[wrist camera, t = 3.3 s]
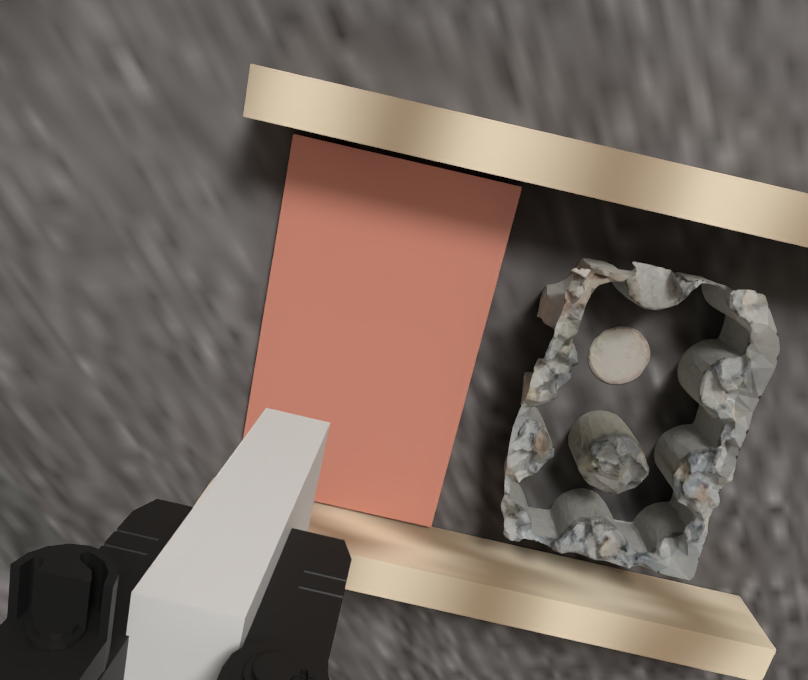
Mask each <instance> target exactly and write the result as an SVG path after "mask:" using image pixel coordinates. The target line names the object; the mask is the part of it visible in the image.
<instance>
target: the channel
mask: <svg viewBox="0 0 808 680" xmlns="http://www.w3.org/2000/svg"><path fill="white" fill-rule="evenodd" d="M243 117H248V118H252V119H256V120H261V121H265V122H269V123H274V124H278V125H282V126H286V127H291V128H295V129H299V130H304V131H308V132H312V133H317V134H321V135H325V136H329V137H334V138H338V139H342V140H347V141H351V142H355V143H360V144H364V145H368V146H373V147H377V148H381V149H385V150H390V151H394V152H398V153H403V154H407V155H411V156H416V157H420V158H424V159H429V160H433V161H437V162H441V163H446V164H450V165H454V166H459V167H463V168H467V169H472V170H476V171H480V172H485V173H489V174H493V175H497V176H502V177H506V178H510V179H515V180H519V181H523V182H528V183H532V184H536V185H541V186H545V187H549V188H553V189H558V190H562V191H566V192H571V193H575V194H579V195H584V196H588V197H592V198H596V199H601V200H605V201H609V202H614V203H618V204H622V205H627V206H631V207H635V208H640V209H644V210H648V211H652V212H657V213H661V214H665V215H670V216H674V217H678V218H683V219H687V220H691V221H696V222H700V223H704V224H708V225H713V226H717V227H721V228H726V229H730V230H734V231H739V232H743V233H747V234H752V235H756V236H760V237H764V238H769V239H773V240H777V241H782V242H786V243H790V244H795V245H799V246H803V247H808V194H807V193H803V192H799V191H795V190H790V189H786V188H782V187H777V186H773V185H769V184H765V183H760V182H756V181H752V180H747V179H743V178H739V177H735V176H730V175H726V174H722V173H717V172H713V171H709V170H705V169H700V168H696V167H692V166H687V165H683V164H679V163H675V162H670V161H666V160H662V159H657V158H653V157H649V156H644V155H640V154H636V153H632V152H627V151H623V150H619V149H614V148H610V147H606V146H602V145H597V144H593V143H589V142H584V141H580V140H576V139H572V138H567V137H563V136H559V135H554V134H550V133H546V132H542V131H537V130H533V129H529V128H524V127H520V126H516V125H512V124H507V123H503V122H499V121H494V120H490V119H486V118H482V117H477V116H473V115H469V114H464V113H460V112H456V111H451V110H447V109H443V108H439V107H434V106H430V105H426V104H421V103H417V102H413V101H409V100H404V99H400V98H396V97H391V96H387V95H383V94H379V93H374V92H370V91H366V90H361V89H357V88H353V87H349V86H344V85H340V84H336V83H331V82H327V81H323V80H319V79H314V78H310V77H306V76H301V75H297V74H293V73H289V72H284V71H280V70H276V69H271V68H267V67H263V66H258V65H254V64H250V71H249V78H248V85H247V92H246V99H245V106H244V113H243ZM214 479H215V477H214V478H213V479H212V481H213V480H214ZM212 481H211V482H210V483H209V485H210V484H211V483H212ZM209 485H208V486H207V488H208V487H209ZM207 488H206V489H207ZM206 489H205V491H206ZM205 491H204V492H205ZM204 492H203V493H202V495H203V494H204ZM202 495H201V496H202ZM201 496H200V498H201ZM200 498H199V499H200ZM199 499H198V500H199ZM197 502H198V501H197ZM197 502H196V503H197ZM196 503H195V505H196ZM195 505H194V506H195ZM194 506H193V507H194ZM307 532H312V533H316V534H321V535H325V536H329V537H334V538H338V539H342V540H345V543H346V545H347V548H348V551H349V553H350V556H351V559H352V560H351V564H350V569H349V573H348V577H347V582H346V586H345V589H347V590H351V591H356V592H360V593H365V594H369V595H373V596H378V597H382V598H387V599H391V600H396V601H400V602H405V603H409V604H414V605H418V606H422V607H427V608H431V609H436V610H440V611H445V612H449V613H454V614H458V615H463V616H467V617H472V618H476V619H480V620H485V621H489V622H494V623H498V624H503V625H507V626H512V627H516V628H521V629H525V630H529V631H534V632H538V633H543V634H547V635H552V636H556V637H561V638H565V639H570V640H574V641H578V642H583V643H587V644H592V645H596V646H601V647H605V648H610V649H614V650H619V651H623V652H627V653H632V654H636V655H641V656H645V657H650V658H654V659H659V660H663V661H668V662H672V663H676V664H681V665H685V666H690V667H694V668H699V669H703V670H708V671H712V672H717V673H721V674H725V675H730V676H734V677H739V678H743V679H748V680H762V679H763V677H764V675H765V673H766V671H767V669H768V667H769V665H770V663H771V660H772V658H773V656H774V654H775V652H776V649H775V647H774V646H773V644H772V643H771V642H770V640H769V639H768V637H767V636H766V634H765V633H764V631H763V630H762V628H761V627H760V625H759V624H758V623H757V621H756V620H755V618H754V617H753V615H752V614H751V612H750V611H749V609H748V608H747V607H746V605H745V604H744V602H743V601H742V599H741V598H740V596H737V595H733V594H728V593H724V592H719V591H715V590H710V589H706V588H702V587H697V586H693V585H688V584H684V583H679V582H675V581H671V580H666V579H662V578H657V577H653V576H648V575H644V574H640V573H635V572H631V571H626V570H622V569H617V568H613V567H609V566H604V565H600V564H595V563H591V562H586V561H582V560H578V559H573V558H569V557H564V556H560V555H555V554H551V553H547V552H542V551H538V550H533V549H529V548H524V547H520V546H516V545H511V544H507V543H502V542H498V541H493V540H489V539H485V538H480V537H476V536H471V535H467V534H462V533H458V532H454V531H449V530H445V529H440V528H436V527H432V526H431V527H427V526H423V525H418V524H414V523H409V522H405V521H400V520H396V519H392V518H387V517H383V516H378V515H374V514H369V513H365V512H361V511H356V510H352V509H347V508H343V507H338V506H334V505H330V504H325V503H321V502H316V501H314V504H313V509H312V514H311V519H310V523H309V527H308V530H307Z"/></svg>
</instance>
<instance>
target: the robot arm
mask: <svg viewBox="0 0 808 680" xmlns="http://www.w3.org/2000/svg"><path fill="white" fill-rule="evenodd" d="M329 427H330V422H326V421H321V420H317V419H313V418H308V417H304V416H300V415H295V414H291V413H287V412H282V411H278V410H274V409H269V408H266V409H265V410H264V411H263V413H262V414H261V416H260V417H259V418H258V420H257V421H256V422H255V424H254V425H253V426H252V428H251V429H250V431H249V432H248V433H247V435H246V436H245V437H244V439H243V440H242V442H241V443H240V444H239V446H238V447H237V448H236V450H235V451H234V452H233V454H232V455H231V457H230V458H229V459H228V461H227V462H226V463H225V465H224V466H223V468H222V469H221V470H220V472H219V473H218V474H217V476H216V477H215V479H214V480H213V481H212V483H211V484H210V485H209V487H208V488H207V489H206V491H205V492H204V494H203V495H202V496H201V498H200V499H199V500H198V502H197V503H196V505H195V506H194V507H190V506H186V505H181V504H177V503H173V502H168V501H164V500H160V499H156V500H154V501H152V502H150V503H148V504H146V505H144V506H142V507H140V508H138V509H136V510H134V511H133V512H132V513H131V514H130V515H129V516H128V517H127V518H126V519H125V520H124V522H123V523H122V524H121V525H120V526H119V527H118V529H117V531H116V532H114V533H113V534H112V535H111V536H110V537H109V538H108V539H107V540H106V542H105V544H104V546H101V547H100V548H99V549H96V548H94V547H91V546H86V545H76V544H63V545H55V546H47V547H44V548H41V549H38V550H35V551H32V552H29V553H27V554H25V555H24V556H22V557H21V558H19V559H18V560H16V561H15V562H13V563H12V564H11V569H10V585H9V600H8V615H7V619H6V620H5V621H4V622H3V623H2V624H1V625H0V680H329V676H328V660H329V656H330V651H331V647H332V643H333V638H334V634H335V629H336V625H337V621H338V616H339V612H340V608H341V603H342V599H343V595H344V590H345V586H346V582H347V577H348V573H349V569H350V564H351V560H352V559H351V556H350V553H349V551H348V548H347V545H346V543H345V540H342V539H338V538H334V537H329V536H325V535H321V534H316V533H312V532H307V530H308V527H309V523H310V519H311V514H312V509H313V504H314V499H315V494H316V490H317V485H318V480H319V475H320V470H321V465H322V461H323V456H324V451H325V446H326V441H327V436H328V432H329Z"/></svg>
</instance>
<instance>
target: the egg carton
mask: <svg viewBox="0 0 808 680" xmlns="http://www.w3.org/2000/svg"><path fill="white" fill-rule="evenodd" d="M632 264H633V267H634V269H633V270H632V271H628V270H620V269H617V268H616V267H615V266H613V265H612V264H609V263H607V262H604V261H600V260H594V259H590V258H582V259H581V260H580V262H579V264H578V265H577V267H576V268H573V269H572V270H571V271H572V274H571V275H570V276H568V277H567V278H566V279H565V280H563V281H561V282H559V283H556V284H550V285H547V286H546V287H545V288H544V290H543V292H542V295H541V298H540V305H539V310H538V314H537V317H540V318H541V319H542V320H543V322H544V323H545V324H547V325H548V326H550V327H552V328H553V329H555V332H554V337H553V338H552V340H551V342H550V344H549V347H548V349H547V351H546V354H545V357H544V358H543V359H539V358H538V360H537V362H536V364H535V366H534V371H531V372H525V373H524V381H523V392H522V400H521V408H520V410H519V413H518V415H517V418H516V420H515V423H514V425H513V428H512V433H511V438H510V444H509V450H508V454H507V457H506V459H505V464H504V476H505V481H504V497H503V499H502V502H501V510H502V513H503V516H504V532H503V533H504V536H505V537H506V538H508V539H509V540H511V541H521V540H522V539H529V540H534V541H538V542H540V543H543V544H545V545H548V546H549V547H550V548H551V549H552V550H554V551H556V552H559V553H561V554H562V553H567V552H574V553H578V554H581V555H584V556H587V557H589V558H591V559H593V560H602V561H607V562H610V563H613V564H617V565H620V566H623V567H625V568H628V569H629V568H630V567H633V566H637V565H639V566H644V567H646V568H648V569H651V570H653V571H655V572H658V573H661V574H664V575H668V576H673V577H677V578H682V579H686V580H691V579H692V578H693V576H694V575H695V571H696V568H697V564H698V561H699V557H700V554H701V551H702V547H703V544H704V541H705V538H706V535H707V533H708V520H709V518H710V515H711V512H712V510H713V508H715V507H717V506H718V505H719V502H720V501H719V491H720V490H721V488H722V487H723V486H724V485H726V484H728V483H730V482H731V481H732V479H733V474H734V470H735V466H736V461H737V457H738V454H739V450H740V448H741V445H742V443H743V441H744V439H745V437H746V435H747V432H748V430H749V426H750V422H751V418H752V414H753V411H754V409H755V407H756V405H757V403H758V401H759V399H760V397H761V395H762V393H763V391H764V389H765V387H766V385H767V383H768V381H769V379H770V378H771V376H772V374H773V372H774V370H775V368H776V364H777V360H778V355H779V351H780V345H779V338H778V333H777V330H776V327H775V324H774V321H773V318H772V315H771V312H770V308H769V305H768V303H767V300H766V297H765V295H763V294H761V293H759V292H757V291H754V290H736V291H734V290H731V289H730V288H729V287H727V286H725V285H722V284H718V283H716V282H713V281H710V280H707V279H705V278H704V277H702V276H696V275H690V274H685V273H682V272H676V273H673V272H672V270H668V269H665V268H662V267H657V266H653V265H649V264H644V263H639V262H632ZM608 282H612V284H613V285H614V287H615V288H616V289H617V290H618V291H619V292H620V293H622V294H623V295H624V296H625V297H627V298H628V299H629V300H631V301H632V302H634V303H636V304H637V305H639V306H641V307H642V308H644V309H650V310H661V309H665V308H669V307H672V306H675V305H677V304H679V303H680V302H681V301H683V300H684V299H685V298H686V297H687V296H688V295H689V294H690V292H691V291H692V290H694V289H696V288H697V287H698V286H699V285H700V284H701V286H702V292H703V295H704V298H705V300H706V301H707V302H708V304H710V305H711V306H712V307H714V308H715V309H717V310H719V311H720V312H722V313H724V314H725V320H724V324H723V327H722V331H721V333H720V335H719V337H718V339H706V340H703V341H700V342H698V343H696V344H694V345H692V346H691V347H690V348H689V349H688V350H687V351H686V352H685V353H684V354H683V356H682V357H681V359H680V361H679V363H678V369H677V372H678V380H679V382H680V384H681V386H682V388H683V389H684V390H685V391H686V392H687V393H688V394H689V395H690V396H691V397H692V398H693V399H694V400H696V401H697V402H698V403H699V408H698V411H697V414H696V418H695V420H694V423H693V424H685V425H679V426H676V427H673V428H671V429H669V430H668V431H666V432H665V433H664V434H663V435H662V436H661V437H660V438H659V440H658V442H657V444H656V446H655V450H654V460H655V463H656V465H657V467H658V469H659V470H660V471H661V473H662V474H663V475H664V477H665V478H666V480H667V481H668V483H669V484H670V485H671V487H672V488H673V495H672V498H671V500H670V501H669V502H659V503H654V504H651V505H649V506H647V507H645V508H644V509H643V510H642V511H640V512H639V514H638V515H637V516H636V517H635V519H634V520H633V521H632V522H625V521H619V520H615V519H613V517H612V514H611V513H610V511H609V509H608V507H607V505H606V503H605V502H604V501H603V499H602V498H601V497H600V496H599V495H598V494H597V493H595V492H594V491H592V490H589V489H585V488H577V489H572V490H569V491H566V492H564V493H563V494H561V495H560V496H559V497H558V498H557V499H556V500H555V501H554V503H553V505H552V507H551V508H550V509H548V510H545V509H540V508H532V507H528V506H527V503H526V499H525V495H524V493H523V491H522V489H521V487H520V485H519V484H518V483H519V482H520V481H521V480H522V479H523V478H525V477H527V476H530V475H533V474H536V473H537V472H538V471H539V470H540V468H541V467H542V466H543V465H544V463H545V462H546V461H547V460H549V459H551V458H553V457H554V448H555V447H554V445H553V444H552V442H551V439H550V436H549V433H548V431H547V428H546V426H545V423H544V421H543V419H542V416H541V415H540V413H539V411H538V409H537V408H536V407H535V406H539V405H542V404H545V403H547V402H550V401H552V400H554V399H555V398H557V390H558V388H559V387H560V386H562V385H564V384H565V383H566V382H567V381H568V380H569V379H570V378H571V370H572V367H573V366H575V365H577V364H579V361H578V356H577V352H576V349H575V346H574V344H573V343H572V341H573V339H574V337H575V336H576V334H577V331H578V329H579V326H580V323H581V320H582V316H583V313H584V310H585V306H586V304H587V302H588V300H589V298H590V296H591V294H592V293H593V291H594V290H595V289H596V288H597V286H599V285H601V284H605V283H608ZM588 359H589V361H588V364H589V366H590V368H591V371H592V372H593V373H594V375H595V376H596V377H597V378H599V379H600V380H601V381H603V382H606V383H609V384H624V383H627V382H630V381H632V380H634V379H635V378H637V377H638V376H640V375H641V373H642V372H643V370H644V368H645V367H646V365H647V364H648V362H649V360H650V349H649V345H648V343H647V341H646V339H645V338H644V337H643V336H642V334H641V333H640V332H639V331H637V330H636V329H634V328H631V327H627V326H616V327H614V328H610V329H607V330H605V331H602V332H601V333H600V334H599V335H598V336H597V337H596V338H595V339H594V340H593V342H592V344H591V346H590V348H589V356H588ZM568 445H569V448H570V450H571V453H572V455H573V457H574V460H575V462H576V465H577V467H578V470H579V471H578V472H580V473H581V475H582V476H583V478H584V480H585V481H586V482H587V483H588V484H589V485H591V486H594V487H596V488H598V489H600V490H602V491H605V492H608V493H611V494H613V495H615V494H618V493H621V492H623V491H626V490H629V489H632V488H635V487H637V486H638V485H639V484H640V483H641V482H642V481H643V480H644V479H645V478H646V477H647V476H648V473H649V467H648V464H647V461H646V458H645V455H644V452H643V449H642V447H641V445H640V444H639V442H638V441H637V439H636V438H635V437H634V435H633V434H632V432H631V431H630V429H629V428H628V427H627V425H626V424H625V423H624V422H623V421H622V419H621V418H620V417H619V416H618V415H615V414H613V413H611V412H608V411H600V410H599V411H592V412H588V413H586V414H584V415H582V416H581V417H580V418H579V419H578V420H576V422H575V423H574V424H573V425H572V427H571V429H570V431H569V435H568ZM516 482H517V483H516Z"/></svg>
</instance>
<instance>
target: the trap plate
mask: <svg viewBox="0 0 808 680" xmlns="http://www.w3.org/2000/svg"><path fill="white" fill-rule="evenodd" d="M521 190H522V187H521V186H516V185H512V184H508V183H503V182H499V181H495V180H491V179H486V178H482V177H478V176H473V175H469V174H465V173H460V172H456V171H452V170H447V169H443V168H439V167H435V166H430V165H426V164H422V163H417V162H413V161H409V160H404V159H400V158H396V157H391V156H387V155H383V154H379V153H374V152H370V151H366V150H361V149H357V148H353V147H348V146H344V145H340V144H335V143H331V142H327V141H323V140H318V139H314V138H310V137H305V136H301V135H297V134H293V139H292V145H291V151H290V157H289V163H288V169H287V175H286V181H285V188H284V194H283V200H282V206H281V212H280V218H279V224H278V230H277V236H276V242H275V248H274V254H273V260H272V266H271V272H270V278H269V284H268V290H267V296H266V303H265V309H264V315H263V321H262V327H261V333H260V339H259V345H258V351H257V357H256V363H255V369H254V375H253V381H252V387H251V393H250V399H249V405H248V411H247V418H246V424H245V430H244V436H243V439H244V437H245V436H246V435H247V433H248V432H249V431H250V429H251V428H252V426H253V425H254V424H255V422H256V421H257V420H258V418H259V417H260V416H261V414H262V413H263V411H264V410H265V409H266V408H269V409H274V410H278V411H282V412H287V413H291V414H295V415H300V416H304V417H308V418H313V419H317V420H321V421H326V422H330V427H329V432H328V436H327V441H326V446H325V451H324V456H323V461H322V465H321V470H320V475H319V480H318V485H317V490H316V494H315V499H314V501H316V502H321V503H325V504H330V505H334V506H338V507H343V508H347V509H352V510H356V511H361V512H365V513H369V514H374V515H378V516H383V517H387V518H392V519H396V520H400V521H405V522H409V523H414V524H418V525H423V526H427V527H431V525H432V522H433V518H434V514H435V510H436V507H437V503H438V499H439V496H440V492H441V488H442V484H443V481H444V477H445V473H446V469H447V466H448V462H449V458H450V455H451V451H452V447H453V443H454V440H455V436H456V432H457V428H458V425H459V421H460V417H461V413H462V410H463V406H464V402H465V399H466V395H467V391H468V387H469V384H470V380H471V376H472V372H473V369H474V365H475V361H476V358H477V354H478V350H479V346H480V343H481V339H482V335H483V331H484V328H485V324H486V320H487V316H488V313H489V309H490V305H491V302H492V298H493V294H494V290H495V287H496V283H497V279H498V275H499V272H500V268H501V264H502V261H503V257H504V253H505V249H506V246H507V242H508V238H509V234H510V231H511V227H512V223H513V220H514V216H515V212H516V208H517V205H518V201H519V197H520V193H521Z"/></svg>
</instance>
